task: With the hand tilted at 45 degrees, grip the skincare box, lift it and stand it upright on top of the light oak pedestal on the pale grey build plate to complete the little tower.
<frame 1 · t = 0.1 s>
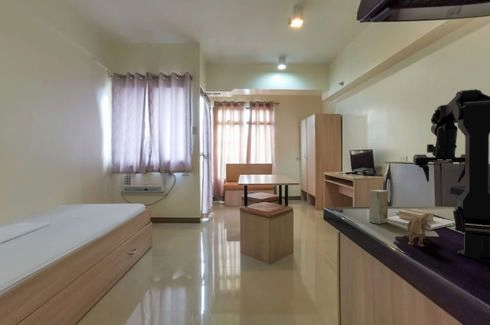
hand: (442, 182, 98), 15 cm above the table, tool pointing down, fingers open, 9 cm apart
lion figurine: (418, 243, 77), on the table
oak pedestal: (415, 221, 101), resting on build plate
skincare box: (378, 222, 101), on the table
build plate: (420, 221, 100), on the table
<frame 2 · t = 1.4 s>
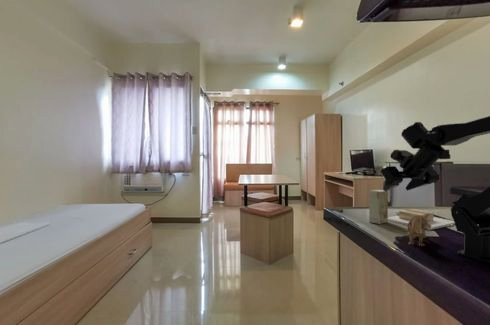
hand: (395, 189, 92), 13 cm above the table, tool tilted 45°, fingers open, 9 cm apart
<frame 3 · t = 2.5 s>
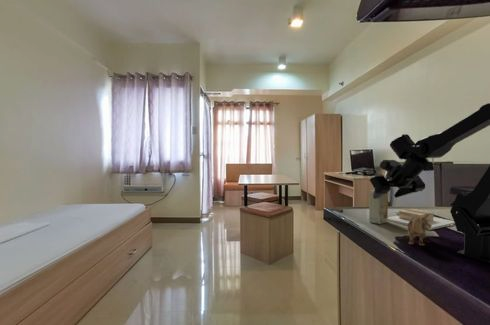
hand: (384, 197, 97), 10 cm above the table, tool tilted 45°, fingers open, 9 cm apart
nothing on the table moved.
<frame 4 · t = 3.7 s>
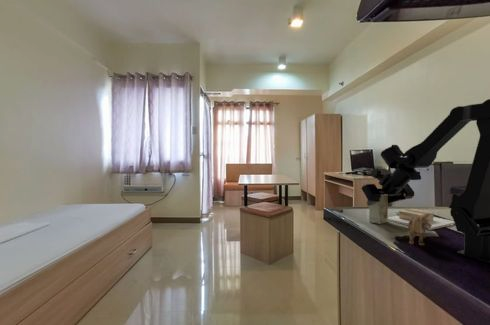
hand: (376, 204, 102), 7 cm above the table, tool tilted 45°, fingers closed on skincare box, 7 cm apart
skincare box: (378, 222, 101), on the table, touching gripper
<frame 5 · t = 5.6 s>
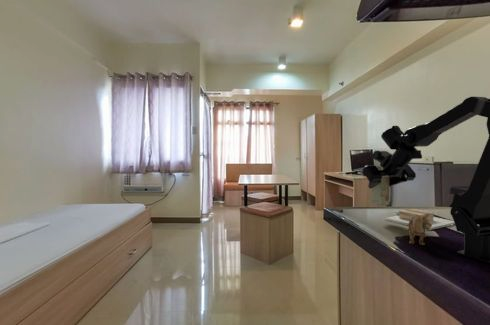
hand: (377, 187, 101), 13 cm above the table, tool tilted 45°, fingers closed on skincare box, 7 cm apart
skincare box: (380, 205, 100), point 6 cm above the table, touching gripper
when the fingers open (12 cm above the table, at t = 7.5 s): skincare box drops 1 cm, resting on oak pedestal.
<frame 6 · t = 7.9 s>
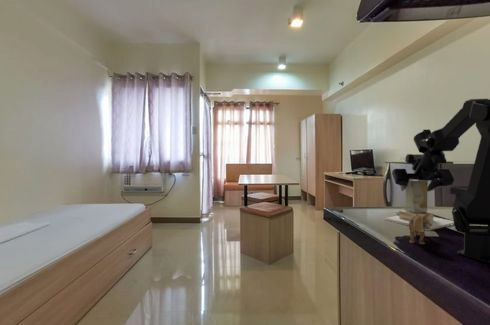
hand: (414, 190, 102), 12 cm above the table, tool tilted 45°, fingers open, 9 cm apart
skincare box: (416, 212, 100), point 4 cm above the table, touching oak pedestal
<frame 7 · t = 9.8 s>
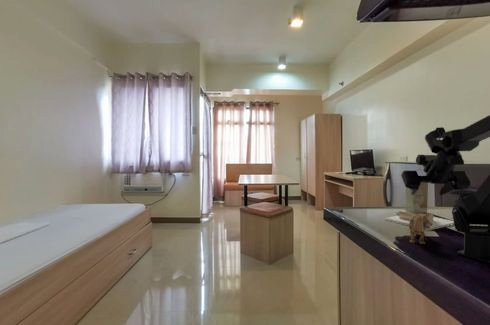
hand: (425, 194, 93), 12 cm above the table, tool tilted 45°, fingers open, 9 cm apart
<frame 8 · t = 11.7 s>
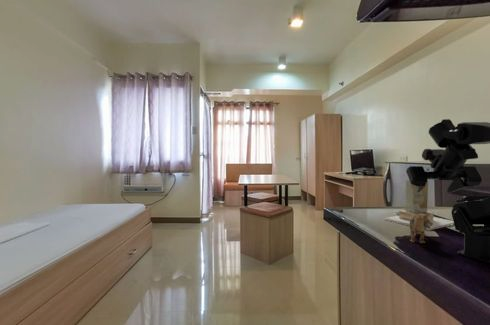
hand: (432, 191, 87), 14 cm above the table, tool tilted 45°, fingers open, 9 cm apart
at the end: skincare box 0.1 cm off-centre on the oak pedestal, point 3.6 cm above the oak pedestal's base; skincare box tilted 0°; the gripper is holding nothing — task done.
